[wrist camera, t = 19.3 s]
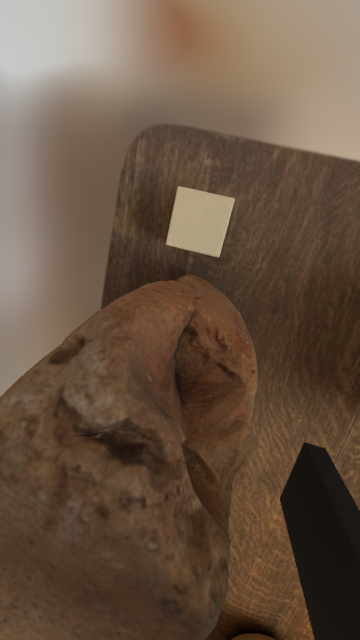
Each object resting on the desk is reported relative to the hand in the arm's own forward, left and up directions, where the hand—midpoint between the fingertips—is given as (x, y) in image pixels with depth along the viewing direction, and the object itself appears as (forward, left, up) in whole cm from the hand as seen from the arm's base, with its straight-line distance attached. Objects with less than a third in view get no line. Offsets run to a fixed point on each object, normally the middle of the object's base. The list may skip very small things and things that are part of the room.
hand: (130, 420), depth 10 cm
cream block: (-7, -6, -14) cm, 17 cm away
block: (0, 0, -15) cm, 15 cm away
